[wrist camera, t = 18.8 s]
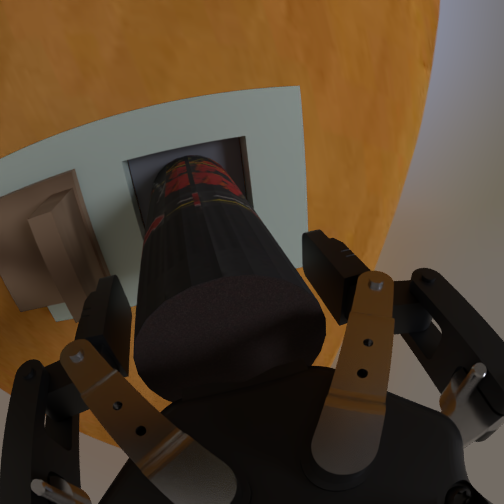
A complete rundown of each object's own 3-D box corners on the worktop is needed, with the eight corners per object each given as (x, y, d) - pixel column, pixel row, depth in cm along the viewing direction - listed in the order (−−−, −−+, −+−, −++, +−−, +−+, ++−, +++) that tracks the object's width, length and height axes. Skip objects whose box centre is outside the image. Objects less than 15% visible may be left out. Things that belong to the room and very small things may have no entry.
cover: (-22, 207, 15) (-56, 236, 11) (74, 168, 16) (48, 191, 12) (23, 305, 19) (5, 346, 15) (114, 285, 21) (106, 329, 17)
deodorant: (247, 200, 23) (349, 347, 10) (185, 247, 23) (217, 425, 10) (201, 137, 19) (265, 227, 7) (134, 190, 20) (92, 354, 7)
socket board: (1, 158, 16) (-11, 164, 14) (288, 86, 19) (299, 86, 17) (61, 307, 23) (56, 321, 21) (299, 253, 26) (308, 265, 25)
